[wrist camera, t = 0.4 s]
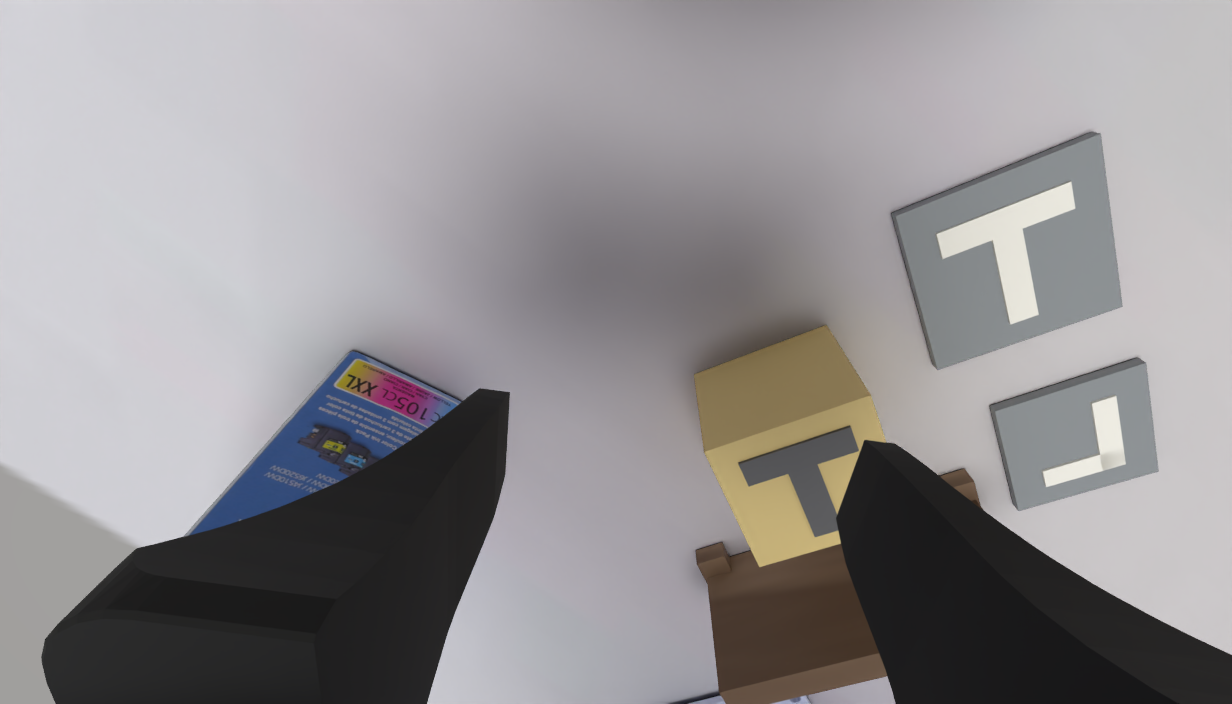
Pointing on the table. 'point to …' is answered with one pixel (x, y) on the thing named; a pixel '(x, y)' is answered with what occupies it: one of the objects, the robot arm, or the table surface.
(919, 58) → the table surface
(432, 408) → the ink cartridge box
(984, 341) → the mat
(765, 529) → the letter cube
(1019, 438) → the mat
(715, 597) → the walnut screen
